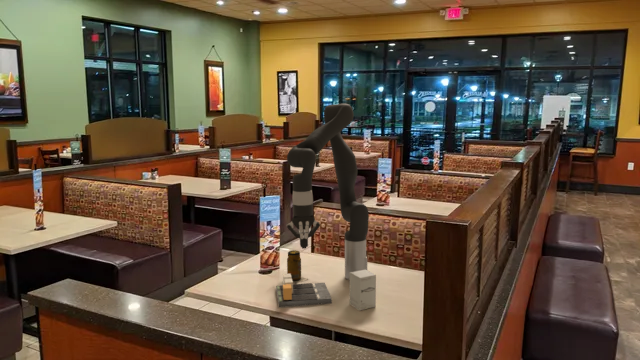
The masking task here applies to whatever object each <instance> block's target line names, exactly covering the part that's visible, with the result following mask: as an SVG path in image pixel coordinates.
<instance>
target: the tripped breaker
mask: <svg viewBox="0 0 640 360" xmlns="http://www.w3.org/2000/svg"><path fill="white" fill-rule="evenodd" d="M282 285H283V284H282ZM283 298H284V300H292V288H291V284H286V285H283Z"/></svg>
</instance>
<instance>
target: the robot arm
mask: <svg viewBox="0 0 640 360" xmlns="http://www.w3.org/2000/svg"><path fill="white" fill-rule="evenodd" d="M323 110H324V111H323V118H324V124H323V125H321V126H319V127H317V128H316V129H315V130H313V131H312V132H311V133H310V134H309V135H308V136H307V137H306V138H305V140H303V141H301V142H299V143H297V144H296V145H294V146H293V147H291V148H290V150H289V151H288V152H287V153H288V154H287V155H286V160H287V161H286V162H287V164H288V165H289V166H290V167H293V168H300V169H301V168H302V170H301V173H296V174H294V175H293V177H292V218H291V221H290V222H289V223H286V228H287V229H288V231H290V232H291V234H292V235H293V236H294V237H295V239H297V238H298V239H299V245H300V248H302V249H307V248H308V247H309V238H311V237H313V236H314V234H316V232H317V231H318V229H319V228H320V227H321V223H320V222H319V221H317V220H316V218H315V217H314V195H313V184H312V183H313V176H314V171H315V168H316V167H315V166H316V163H317V156H316V155H318V154H319V153H320V152H321V151H322V150H323V149H324V147H325V146H326V145H327V144H328V143H330V148H331V153H332V158H333V164H334V171H335V175H336V181H337V187H338V193H339V202H340V213H341V217H342V218H343V220H344V221H345V222H348V223H349V230H346V231H345V233H344V278H345V279H346V280H348V281H350V272H355V271H361V270H368V257H367V235H368V232H369V220H370V219H369V217H370V215H369V214H370V213H369V209H368V206H366V204H364V203H362V202H361V203H360V202H358V201H357V197H356V193H355V185H356V181H357V177H358V165H357V159H356V155H355V153H354V151H353V150H352V149H351V148H350V146H349V145H348V144H347V143H346V141H345V140H344V138H343V136H342V134H341V133H342V131H343V130H344V129H345V128H347V127H348V126H349V125H351V123H352V122H353V120H354V114H355V113H354V109H353V107H352V106H351V105H350V104H348V103H335V104H330V105H326V107H324V109H323ZM312 225H313V226H312ZM294 226H295V228H296V229H297V230H298V232H297V231H296V230H295V229H294ZM311 227H312V228H311ZM310 228H311V229H310ZM309 229H310V231H309Z"/></svg>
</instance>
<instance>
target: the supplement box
mask: <svg viewBox="0 0 640 360" xmlns="http://www.w3.org/2000/svg"><path fill="white" fill-rule="evenodd" d="M376 287H377V275H376V274H375V273H374V272H372V271H369V270H368V269H367V270H361V271H355V272H350V280H349V305H350V306H352V307H353V308H354V309H357V311H359V310H360V311H363V310H366V309H370V308H376V303H377V301H376V300H377V296H376V295H377V288H376Z"/></svg>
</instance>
